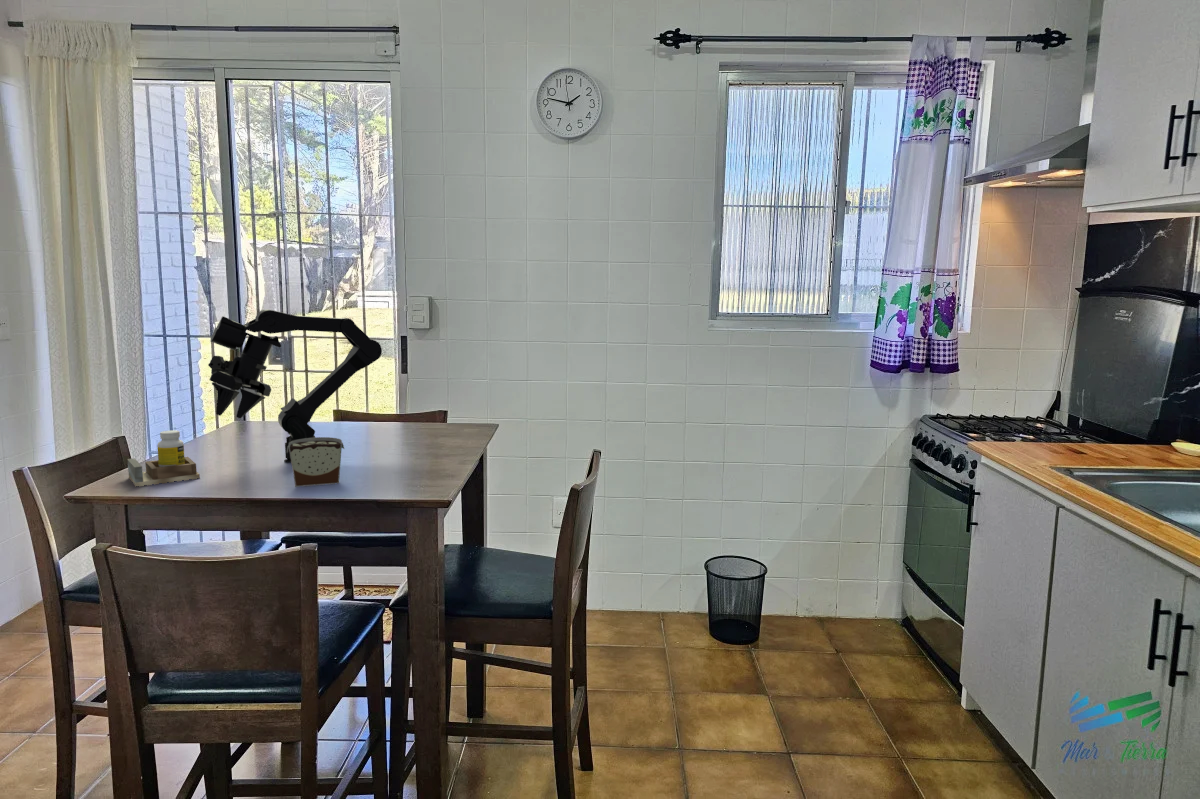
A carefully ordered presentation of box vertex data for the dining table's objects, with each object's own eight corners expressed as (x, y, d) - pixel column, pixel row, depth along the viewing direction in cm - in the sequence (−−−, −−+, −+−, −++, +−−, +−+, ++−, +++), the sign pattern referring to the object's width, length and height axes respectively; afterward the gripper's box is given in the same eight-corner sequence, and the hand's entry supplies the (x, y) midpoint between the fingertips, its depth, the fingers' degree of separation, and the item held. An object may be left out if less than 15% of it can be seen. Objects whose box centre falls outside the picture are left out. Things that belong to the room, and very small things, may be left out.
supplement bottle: (182, 474, 182) (179, 433, 180) (156, 476, 180) (153, 434, 179) (187, 469, 187) (184, 429, 185) (162, 470, 185) (159, 430, 184)
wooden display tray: (190, 470, 190) (189, 452, 190) (199, 478, 183) (198, 459, 182) (128, 477, 182) (127, 459, 182) (135, 486, 175) (134, 467, 174)
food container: (344, 476, 186) (342, 435, 184) (345, 483, 180) (344, 440, 179) (288, 481, 181) (286, 438, 180) (288, 487, 176) (286, 443, 174)
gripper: (244, 351, 203) (220, 407, 202) (203, 339, 184) (176, 401, 183) (282, 367, 202) (258, 423, 201) (245, 356, 183) (218, 418, 182)
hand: (228, 416), depth 192 cm, fingers open, 9 cm apart
